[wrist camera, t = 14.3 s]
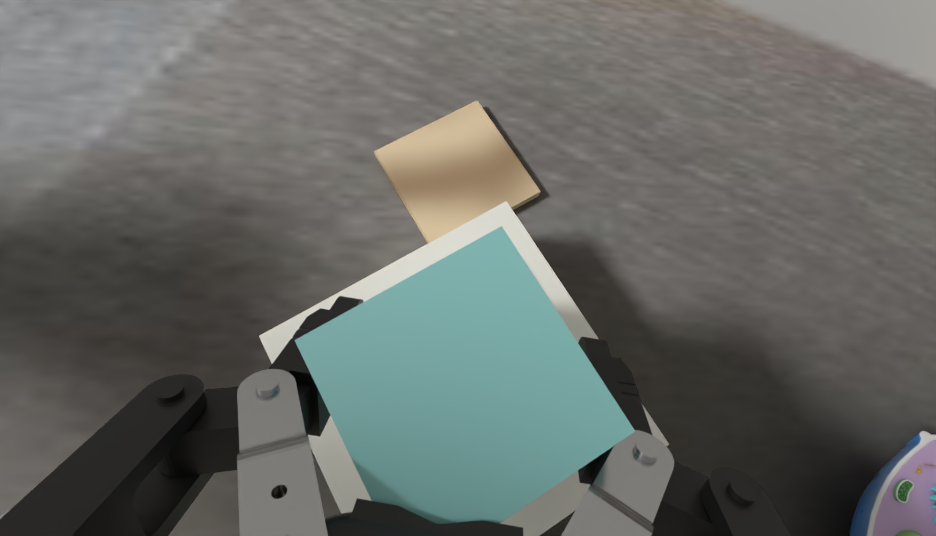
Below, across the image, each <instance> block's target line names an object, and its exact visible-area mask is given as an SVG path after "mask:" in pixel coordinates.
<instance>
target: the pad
mask: <svg viewBox="0 0 936 536" xmlns="http://www.w3.org/2000/svg"><path fill="white" fill-rule="evenodd" d="M374 153H375V156H376V158H377V159H378V161H379V163H380V164H381V166H382V168H383V169H384V171H385V173H386V174H387V176H388V178H389V179H390V181H391V183H392V184H393V186H394V188H395V189H396V191H397V193H398V194H399V196H400V198H401V199H402V201H403V203H404V204H405V206H406V208H407V209H408V211H409V213H410V214H411V216H412V218H413V219H414V221H415V223H416V224H417V226H418V228H419V229H420V231H421V233H422V234H423V236H424V238H425V239H426V241H427V243H430V242H432V241H434V240H436V239H438V238H439V237H441V236H443V235H445V234H447V233H449V232H450V231H452V230H454V229H456V228H458V227H460V226H461V225H463V224H465V223H467V222H469V221H471V220H472V219H474V218H476V217H478V216H480V215H482V214H483V213H485V212H487V211H489V210H491V209H493V208H494V207H496V206H498V205H500V204H502V203H504V202H505V201H507V203H508V204H509V206H510V207H511V209H512V210H514V209H516V208H518V207H520V206H522V205H523V204H525V203H527V202H529V201H531V200H533V199H534V198H536V197H538V196H539V194H540V192H541V191H540V190H539V188H538V187H537V185H536V184H535V183H534V181H533V180H532V178H531V177H530V175H529V174H528V173H527V171H526V170H525V168H524V167H523V165H522V164H521V162H520V161H519V160H518V158H517V157H516V155H515V154H514V152H513V151H512V150H511V148H510V147H509V145H508V144H507V142H506V141H505V139H504V138H503V137H502V135H501V134H500V132H499V131H498V129H497V128H496V127H495V125H494V124H493V122H492V121H491V119H490V118H489V116H488V115H487V114H486V112H485V111H484V109H483V108H482V106H481V105H480V104H479V102H478V101H475V102H473V103H471V104H469V105H467V106H465V107H463V108H461V109H459V110H457V111H455V112H453V113H451V114H449V115H447V116H445V117H443V118H441V119H439V120H437V121H435V122H432V123H430V124H428V125H426V126H424V127H422V128H420V129H418V130H416V131H414V132H412V133H410V134H408V135H406V136H404V137H402V138H400V139H398V140H396V141H394V142H392V143H390V144H388V145H386V146H384V147H382V148H380V149H378V150H376V151H374Z"/></svg>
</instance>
